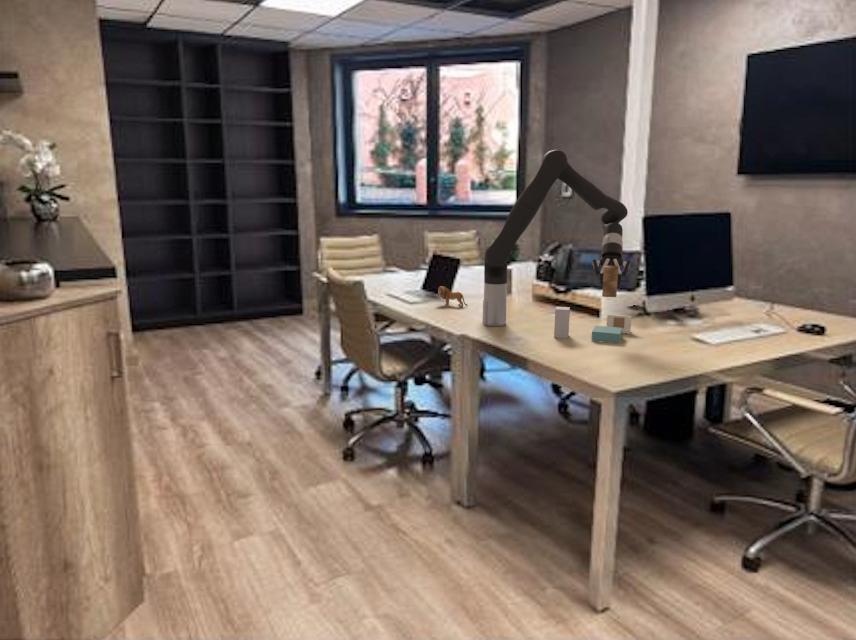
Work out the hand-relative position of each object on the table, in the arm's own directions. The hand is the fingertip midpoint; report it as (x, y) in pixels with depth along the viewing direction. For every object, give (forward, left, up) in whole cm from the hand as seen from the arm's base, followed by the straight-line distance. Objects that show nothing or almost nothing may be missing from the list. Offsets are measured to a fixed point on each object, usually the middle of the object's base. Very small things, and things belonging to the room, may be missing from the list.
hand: (610, 284), depth 236 cm
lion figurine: (-52, +67, -21) cm, 87 cm away
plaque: (+8, +11, -21) cm, 25 cm away
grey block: (-16, +6, -21) cm, 27 cm away
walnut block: (+1, +2, -5) cm, 5 cm away
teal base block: (0, +1, -21) cm, 21 cm away
